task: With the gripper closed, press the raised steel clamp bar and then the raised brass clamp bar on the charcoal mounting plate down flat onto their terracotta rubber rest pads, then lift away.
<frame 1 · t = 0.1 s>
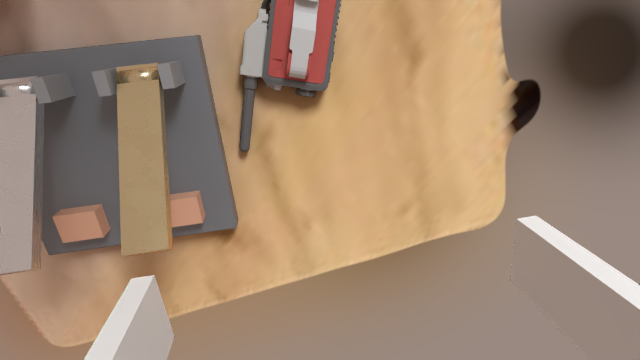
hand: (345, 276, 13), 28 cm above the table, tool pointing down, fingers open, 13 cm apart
mount plate: (124, 148, 38), on the table
steel strap: (15, 171, 29), point 9 cm above the table, hinge at 35.0°
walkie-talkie: (286, 58, 37), on the table
brass strap: (143, 154, 30), point 9 cm above the table, hinge at 35.0°
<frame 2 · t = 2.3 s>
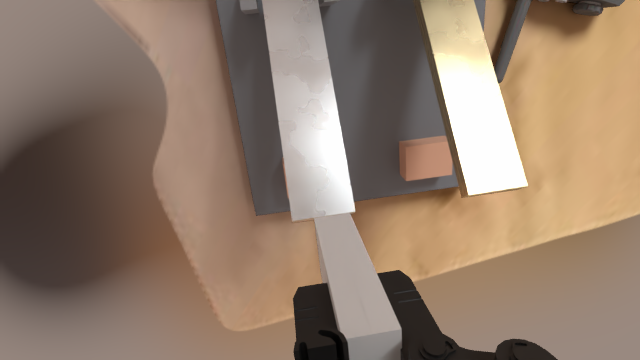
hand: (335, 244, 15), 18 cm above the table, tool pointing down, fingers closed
mount plate: (355, 83, 31), on the table
steel strap: (303, 87, 22), point 9 cm above the table, hinge at 35.0°
brass strap: (461, 68, 23), point 9 cm above the table, hinge at 35.0°
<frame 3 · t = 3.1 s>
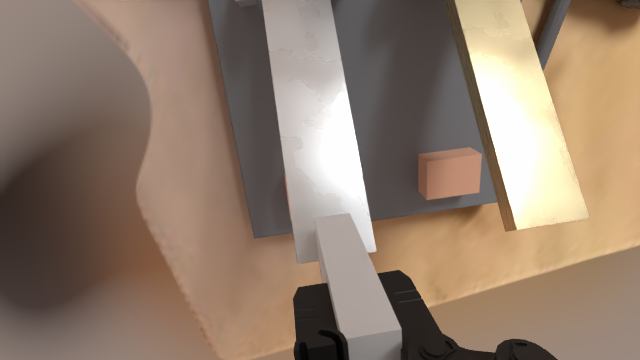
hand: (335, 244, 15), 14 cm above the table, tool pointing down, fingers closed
mount plate: (368, 87, 27), on the table
steel strap: (310, 95, 18), point 9 cm above the table, hinge at 35.0°, touching gripper
brass strap: (501, 72, 19), point 9 cm above the table, hinge at 35.0°
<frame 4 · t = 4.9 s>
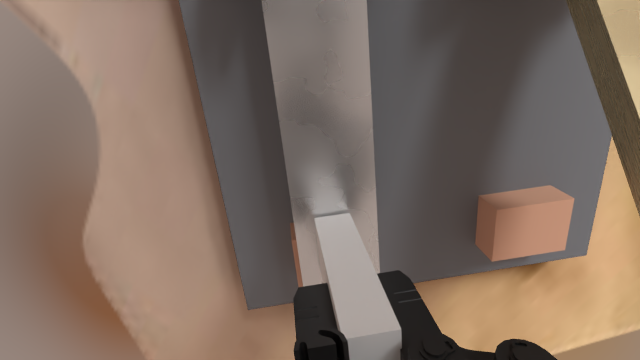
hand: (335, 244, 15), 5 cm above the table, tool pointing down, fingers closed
mount plate: (409, 100, 19), on the table
steel strap: (326, 136, 14), point 5 cm above the table, hinge at 0.7°, touching gripper
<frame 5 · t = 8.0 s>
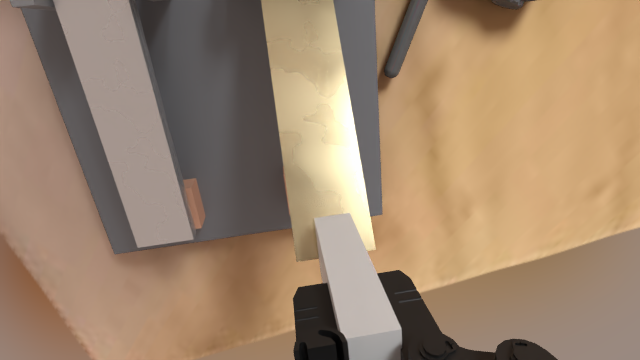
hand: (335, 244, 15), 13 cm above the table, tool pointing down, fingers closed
mount plate: (228, 95, 25), on the table
steel strap: (131, 119, 21), point 5 cm above the table, hinge at 0.4°
brass strap: (309, 88, 18), point 8 cm above the table, hinge at 32.3°, touching gripper
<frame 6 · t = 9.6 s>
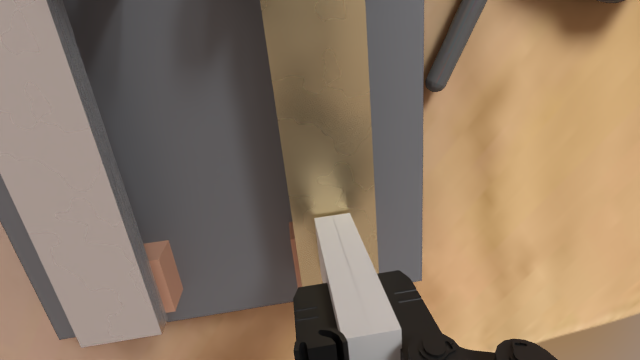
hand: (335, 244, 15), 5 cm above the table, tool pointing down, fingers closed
mount plate: (214, 124, 18), on the table
steel strap: (61, 169, 14), point 5 cm above the table, hinge at 0.4°
brass strap: (325, 135, 14), point 5 cm above the table, hinge at 0.8°, touching gripper
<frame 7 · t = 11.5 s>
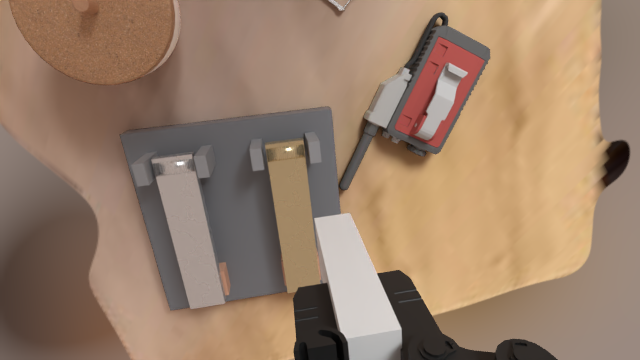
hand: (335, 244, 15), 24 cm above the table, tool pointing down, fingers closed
lidded jar: (132, 17, 33), on the table
mount plate: (246, 208, 40), on the table
steel strap: (192, 234, 35), point 5 cm above the table, hinge at 0.4°
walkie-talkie: (405, 114, 40), on the table
brass strap: (294, 219, 36), point 5 cm above the table, hinge at 0.4°
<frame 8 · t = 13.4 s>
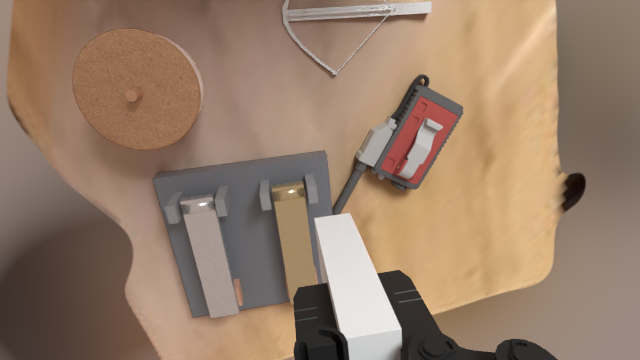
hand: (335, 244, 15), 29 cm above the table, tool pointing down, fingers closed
crossbow: (354, 12, 40), on the table
lidded jar: (161, 83, 40), on the table
mount plate: (256, 233, 48), on the table
steel strap: (212, 259, 43), point 5 cm above the table, hinge at 0.4°
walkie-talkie: (391, 153, 47), on the table
brass strap: (296, 246, 44), point 5 cm above the table, hinge at 0.4°
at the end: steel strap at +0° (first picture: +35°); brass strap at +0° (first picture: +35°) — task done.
